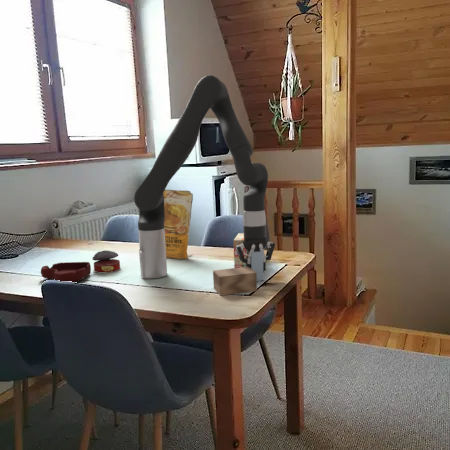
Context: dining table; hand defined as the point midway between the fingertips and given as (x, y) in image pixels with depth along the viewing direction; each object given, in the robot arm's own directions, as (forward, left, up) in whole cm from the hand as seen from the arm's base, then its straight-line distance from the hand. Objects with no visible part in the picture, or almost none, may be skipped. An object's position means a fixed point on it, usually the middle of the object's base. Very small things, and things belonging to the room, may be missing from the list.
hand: (255, 273), depth 167 cm
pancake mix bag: (-20, +47, -3) cm, 51 cm away
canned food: (-48, +37, -3) cm, 61 cm away
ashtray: (-61, +28, -3) cm, 68 cm away
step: (-10, -8, -2) cm, 13 cm away
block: (0, 0, -2) cm, 2 cm away
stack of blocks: (+3, +20, -3) cm, 21 cm away
